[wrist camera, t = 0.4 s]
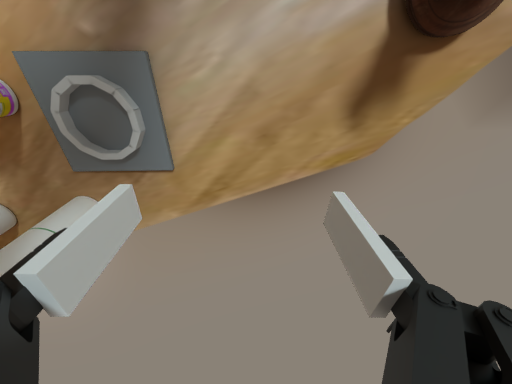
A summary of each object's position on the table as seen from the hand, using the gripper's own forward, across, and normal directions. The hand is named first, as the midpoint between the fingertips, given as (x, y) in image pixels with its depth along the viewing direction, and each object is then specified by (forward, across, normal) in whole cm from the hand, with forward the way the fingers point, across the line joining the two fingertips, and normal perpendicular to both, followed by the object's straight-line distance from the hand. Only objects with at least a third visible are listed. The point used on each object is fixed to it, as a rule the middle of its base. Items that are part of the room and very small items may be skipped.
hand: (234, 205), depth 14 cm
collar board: (+28, -25, -1) cm, 37 cm away
